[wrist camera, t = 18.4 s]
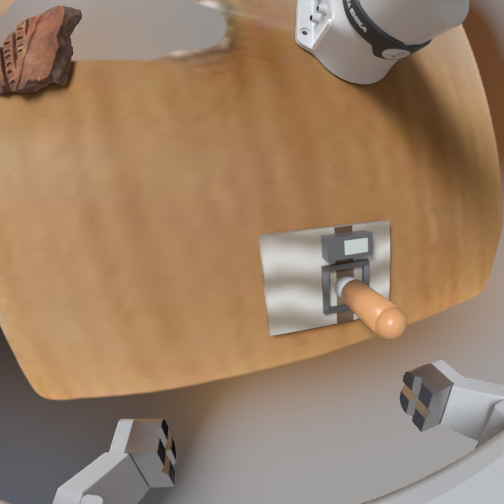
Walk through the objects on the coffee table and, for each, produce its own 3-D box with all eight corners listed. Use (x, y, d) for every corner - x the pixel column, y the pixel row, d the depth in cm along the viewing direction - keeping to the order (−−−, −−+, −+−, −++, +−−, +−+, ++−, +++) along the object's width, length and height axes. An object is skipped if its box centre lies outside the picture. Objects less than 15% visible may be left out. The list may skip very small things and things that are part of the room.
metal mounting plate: (258, 234, 43) (261, 237, 41) (384, 219, 45) (392, 221, 43) (268, 331, 47) (271, 338, 45) (383, 308, 49) (390, 313, 47)
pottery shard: (-6, 105, 33) (-19, 102, 30) (10, 28, 30) (0, 21, 26) (69, 86, 35) (58, 80, 32) (86, 4, 32) (78, -6, 28)
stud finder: (321, 235, 43) (327, 238, 41) (365, 230, 44) (373, 232, 41) (322, 257, 44) (328, 262, 41) (365, 251, 44) (373, 255, 42)
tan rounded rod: (332, 275, 44) (385, 317, 30) (357, 271, 45) (415, 309, 30) (333, 300, 45) (382, 350, 30) (357, 296, 46) (411, 341, 31)
